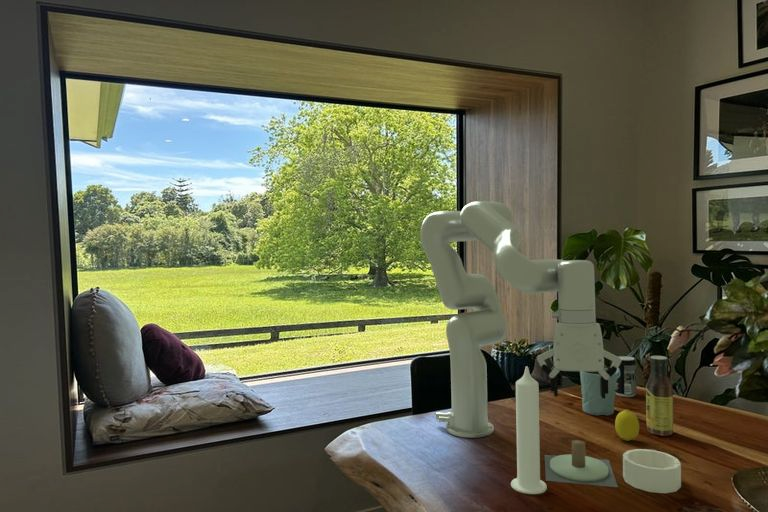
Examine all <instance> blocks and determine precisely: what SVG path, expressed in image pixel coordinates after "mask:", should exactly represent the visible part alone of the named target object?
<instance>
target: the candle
mask: <svg viewBox="0 0 768 512" xmlns="http://www.w3.org/2000/svg"><path fill="white" fill-rule="evenodd" d="M524 368H525V369H524V373H523V375H522V376H521V377H520V378H519V379H517V380H516V381H515V416H516V417H515V419H516V423H515V424H516V469H517V470H516V471H517V472H516V475H517V476H516V478H513V479H512V480H511V482H510V486H511V488H512V489H513V490H515V491H517V492H519V493H523V494H528V495H539V494H542V493H545V492H546V491H547V489H548V488H547V487H548V486H547V484H546V483H545V482H546V481H545V482H544V481H543V480H542V479H541V458H540V455H541V453H540V397H539V395H540V392H539V391H540V390H539V385H540V384H539V382H538V381H537V380H536V379H534V377H532V376H531V374H530V368H529V367H528V365H527V366H525V367H524Z"/></svg>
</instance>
